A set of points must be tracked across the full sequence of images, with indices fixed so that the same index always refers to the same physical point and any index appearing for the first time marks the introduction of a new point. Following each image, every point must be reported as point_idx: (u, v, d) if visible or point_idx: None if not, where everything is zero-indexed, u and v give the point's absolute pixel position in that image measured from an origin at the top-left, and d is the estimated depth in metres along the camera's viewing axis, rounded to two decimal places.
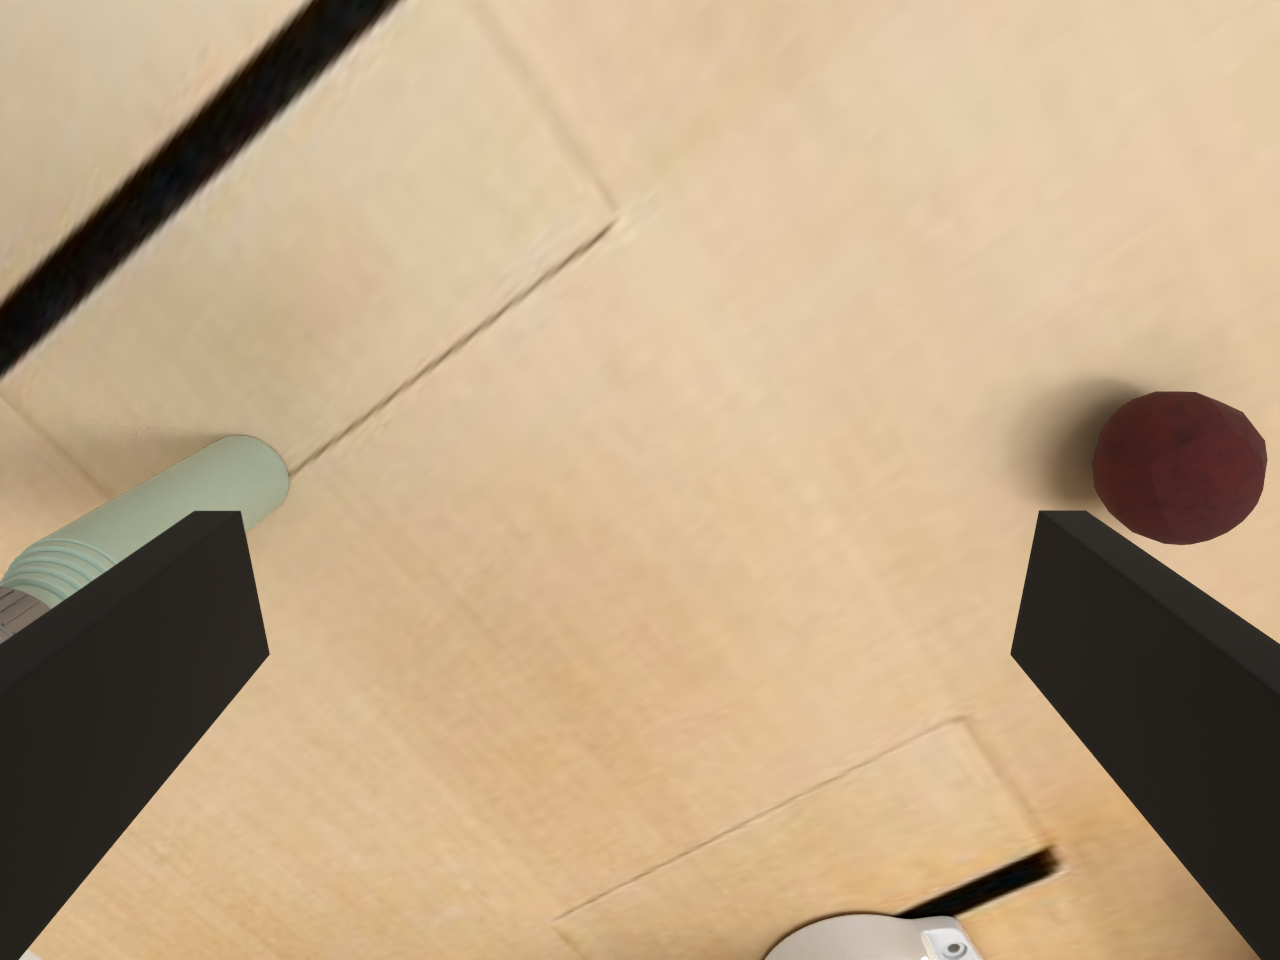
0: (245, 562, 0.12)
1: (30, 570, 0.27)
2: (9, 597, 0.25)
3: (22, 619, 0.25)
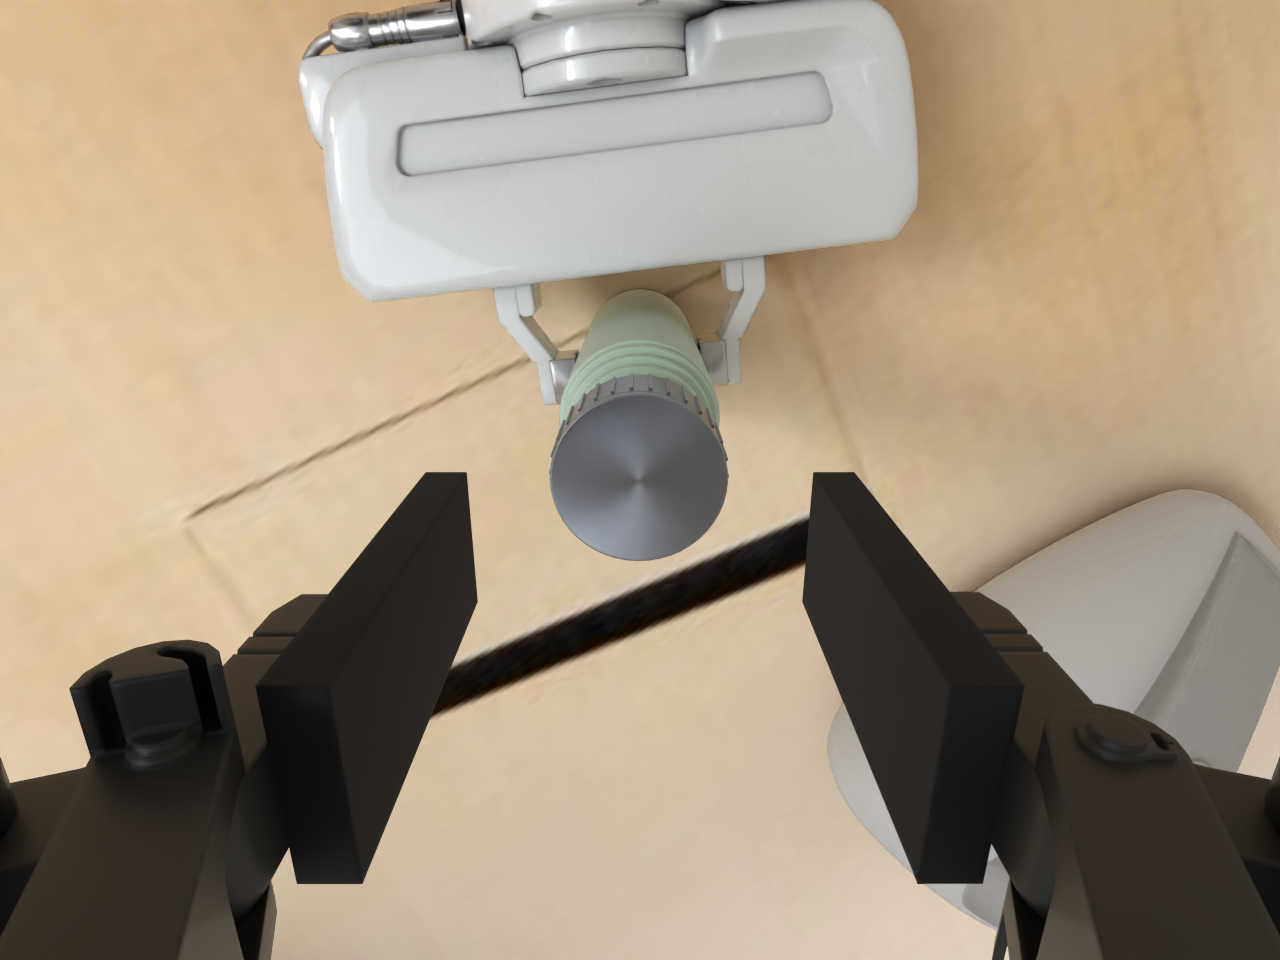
0: (468, 517, 0.14)
1: None
2: None
3: None
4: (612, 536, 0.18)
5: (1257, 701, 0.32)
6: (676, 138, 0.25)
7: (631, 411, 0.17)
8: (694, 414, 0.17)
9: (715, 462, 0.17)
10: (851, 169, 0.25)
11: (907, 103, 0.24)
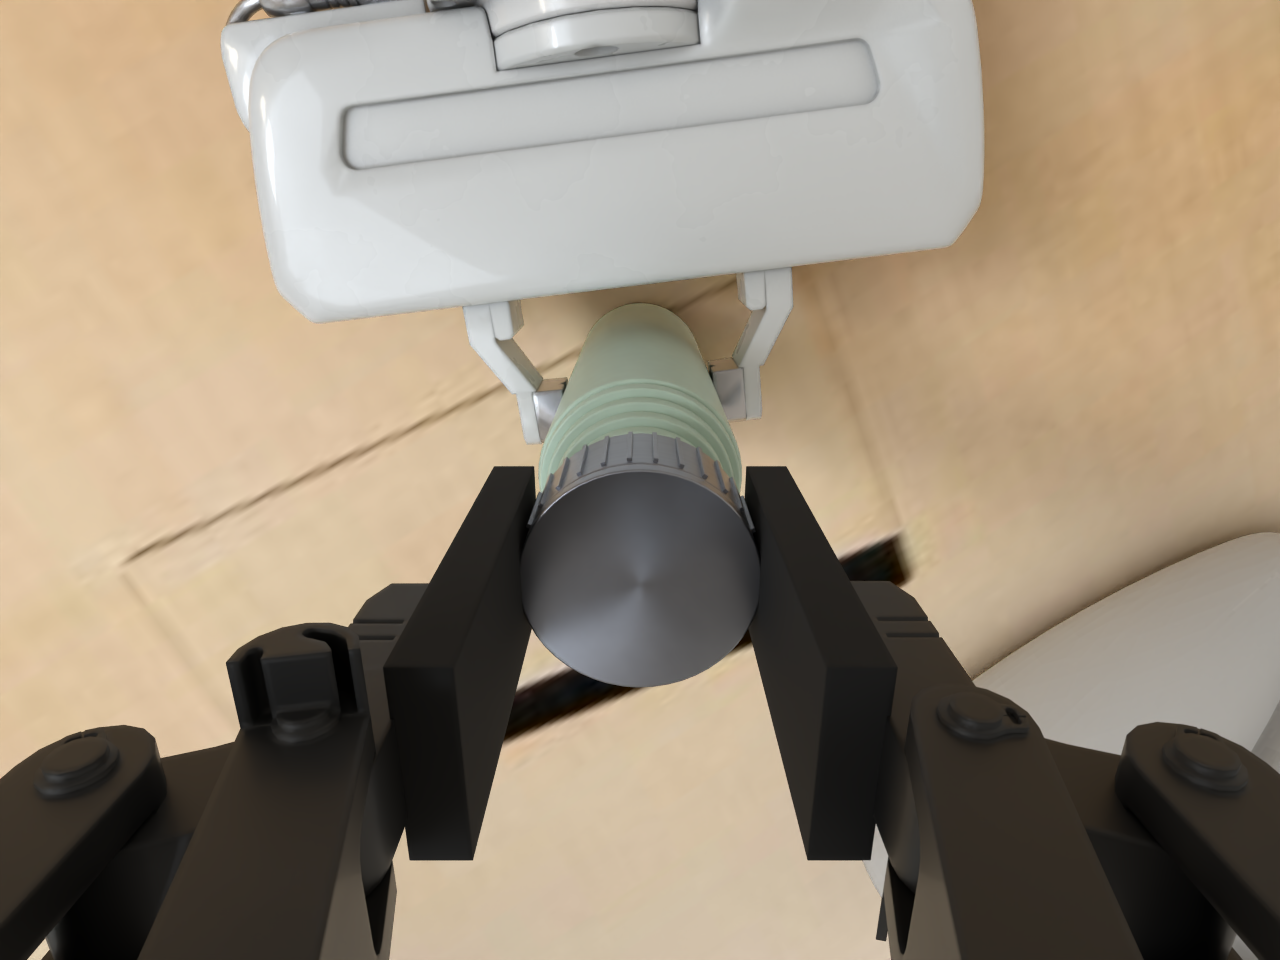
0: None
1: None
2: None
3: None
4: (603, 656, 0.13)
5: None
6: (686, 122, 0.20)
7: (629, 492, 0.12)
8: (717, 496, 0.12)
9: (745, 560, 0.12)
10: (901, 161, 0.20)
11: (974, 78, 0.19)
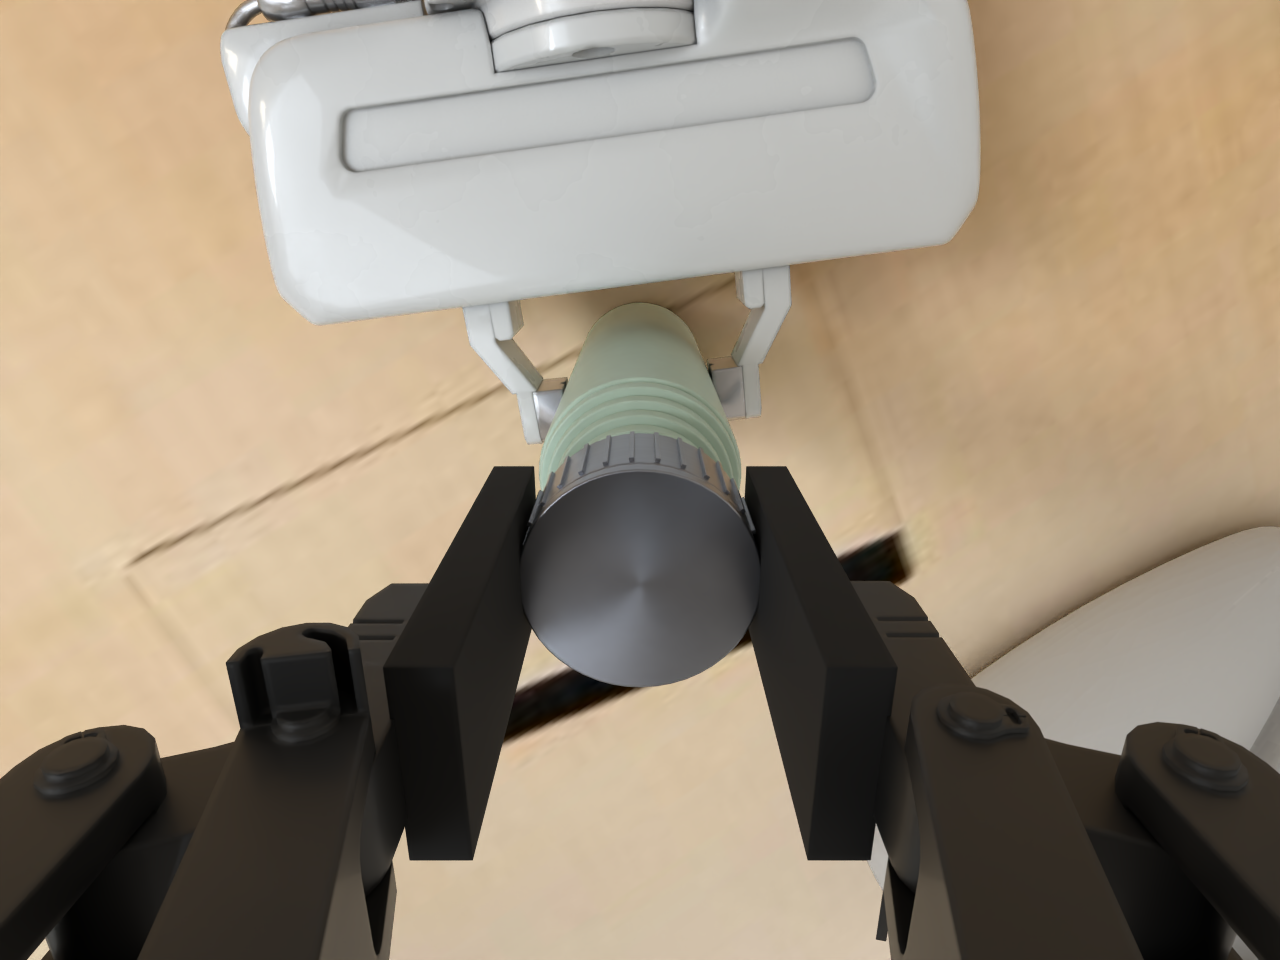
0: None
1: None
2: None
3: None
4: (729, 595, 0.13)
5: None
6: (683, 122, 0.20)
7: (549, 618, 0.13)
8: (525, 545, 0.12)
9: (580, 499, 0.12)
10: (898, 159, 0.20)
11: (969, 76, 0.19)
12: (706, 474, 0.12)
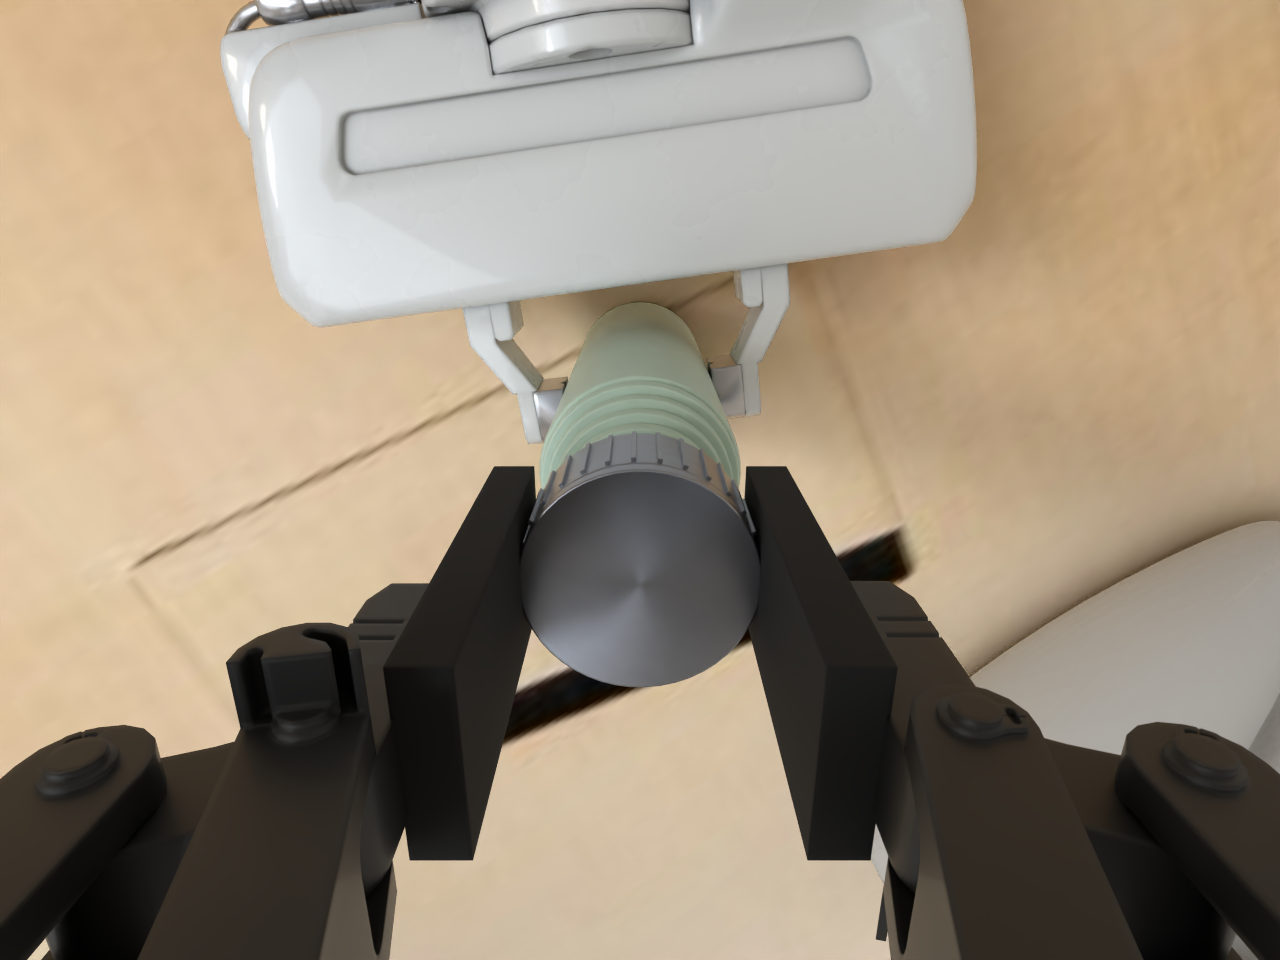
0: None
1: None
2: (644, 440, 0.13)
3: (693, 461, 0.13)
4: (623, 501, 0.12)
5: None
6: (680, 122, 0.20)
7: (701, 650, 0.13)
8: (632, 685, 0.13)
9: (571, 654, 0.13)
10: (894, 157, 0.20)
11: (965, 74, 0.19)
12: None
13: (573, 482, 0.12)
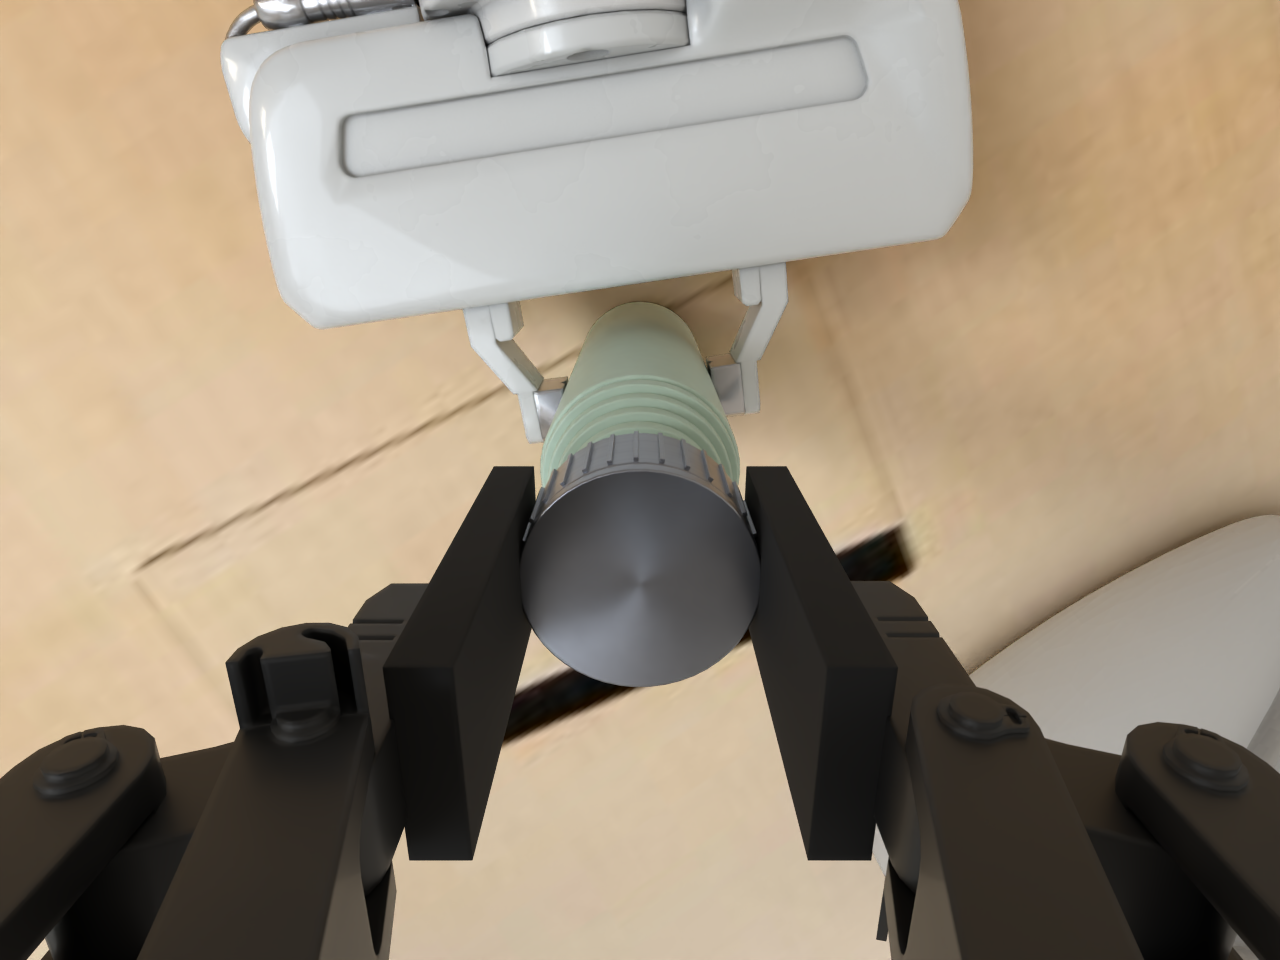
0: None
1: None
2: None
3: None
4: (560, 620, 0.13)
5: None
6: (677, 122, 0.20)
7: (696, 507, 0.12)
8: (758, 560, 0.12)
9: (736, 623, 0.13)
10: (891, 155, 0.20)
11: (960, 72, 0.19)
12: None
13: None
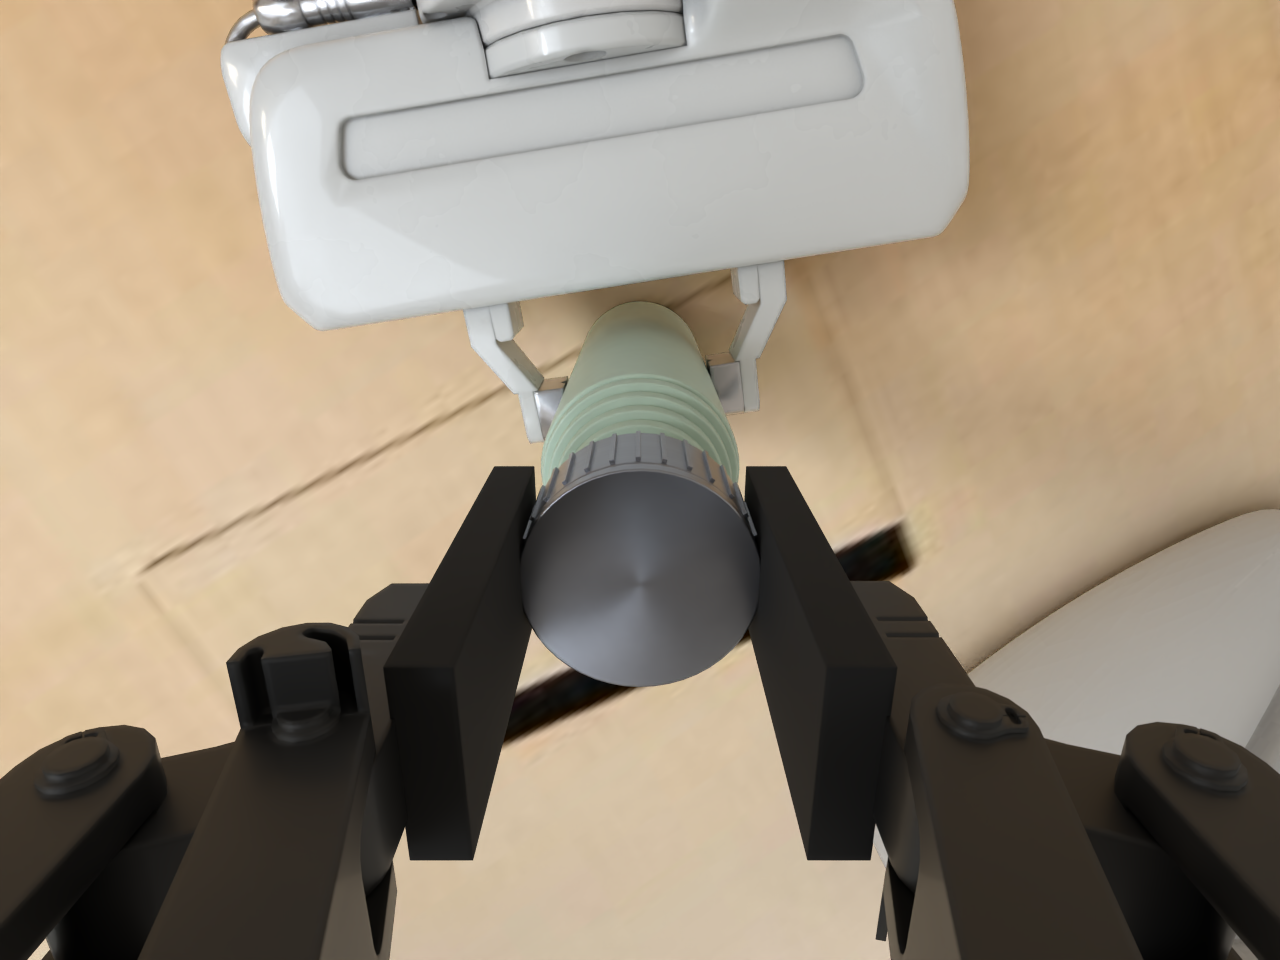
0: None
1: None
2: None
3: None
4: (701, 641, 0.13)
5: None
6: (675, 122, 0.20)
7: (543, 559, 0.12)
8: (576, 487, 0.12)
9: (654, 484, 0.12)
10: (887, 153, 0.20)
11: (956, 69, 0.19)
12: (756, 534, 0.13)
13: None
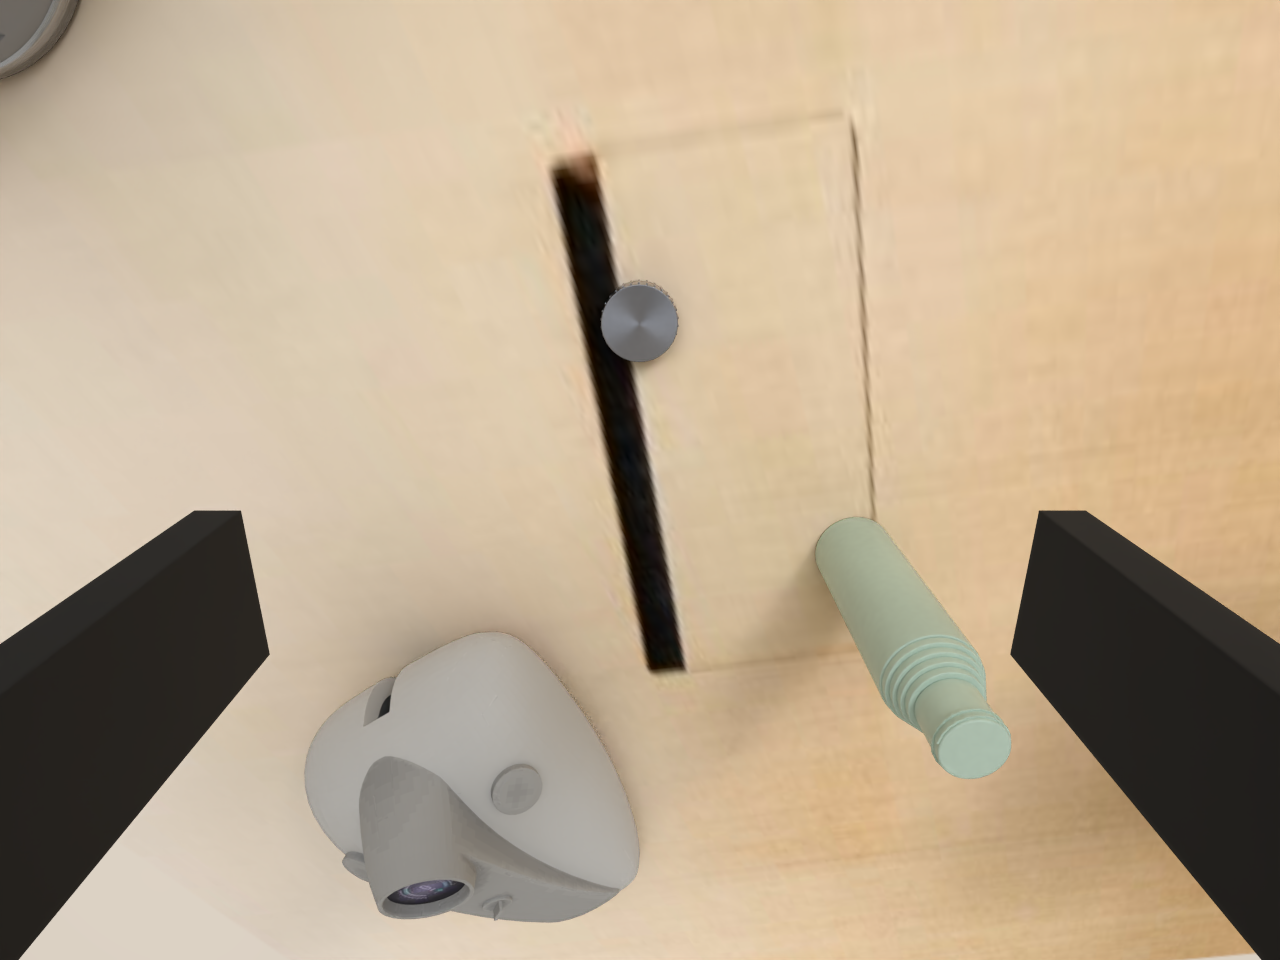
0: (245, 562, 0.12)
1: (909, 685, 0.33)
2: None
3: None
4: (659, 344, 0.40)
5: (521, 918, 0.47)
6: None
7: (609, 315, 0.40)
8: (620, 290, 0.39)
9: (643, 289, 0.39)
10: None
11: None
12: (676, 309, 0.40)
13: (674, 338, 0.41)
